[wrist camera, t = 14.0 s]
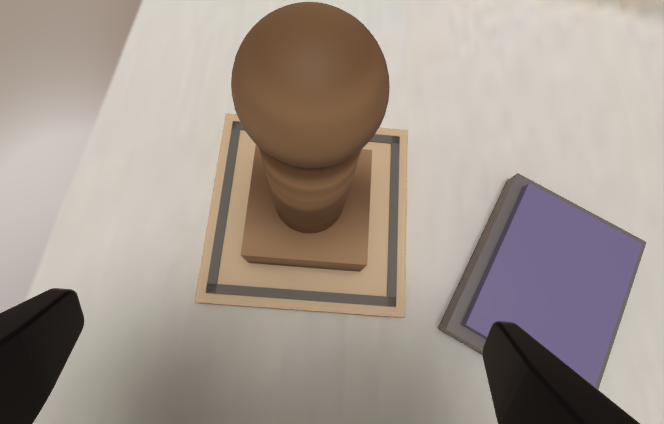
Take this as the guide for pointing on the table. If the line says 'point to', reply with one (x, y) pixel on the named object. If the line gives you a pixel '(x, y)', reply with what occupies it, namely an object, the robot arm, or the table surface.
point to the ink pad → (547, 278)
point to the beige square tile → (300, 282)
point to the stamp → (309, 135)
